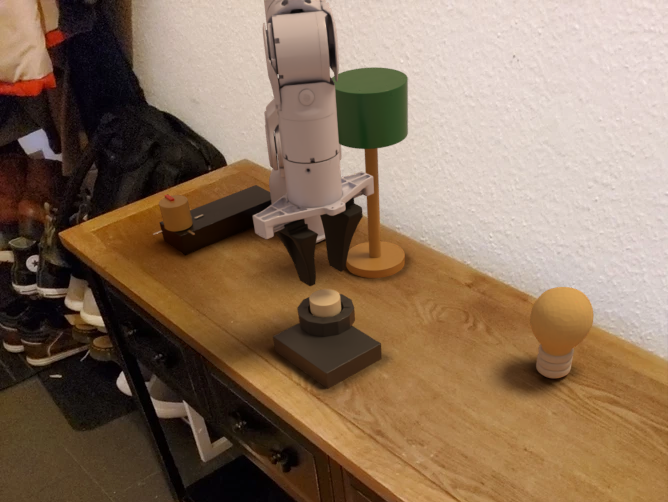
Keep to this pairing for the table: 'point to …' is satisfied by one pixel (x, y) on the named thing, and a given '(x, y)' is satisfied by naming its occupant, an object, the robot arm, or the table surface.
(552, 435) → the table surface
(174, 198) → the dimmer knob
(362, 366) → the switch box
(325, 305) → the lamp switch
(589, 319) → the light bulb
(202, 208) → the dimmer
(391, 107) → the lamp
